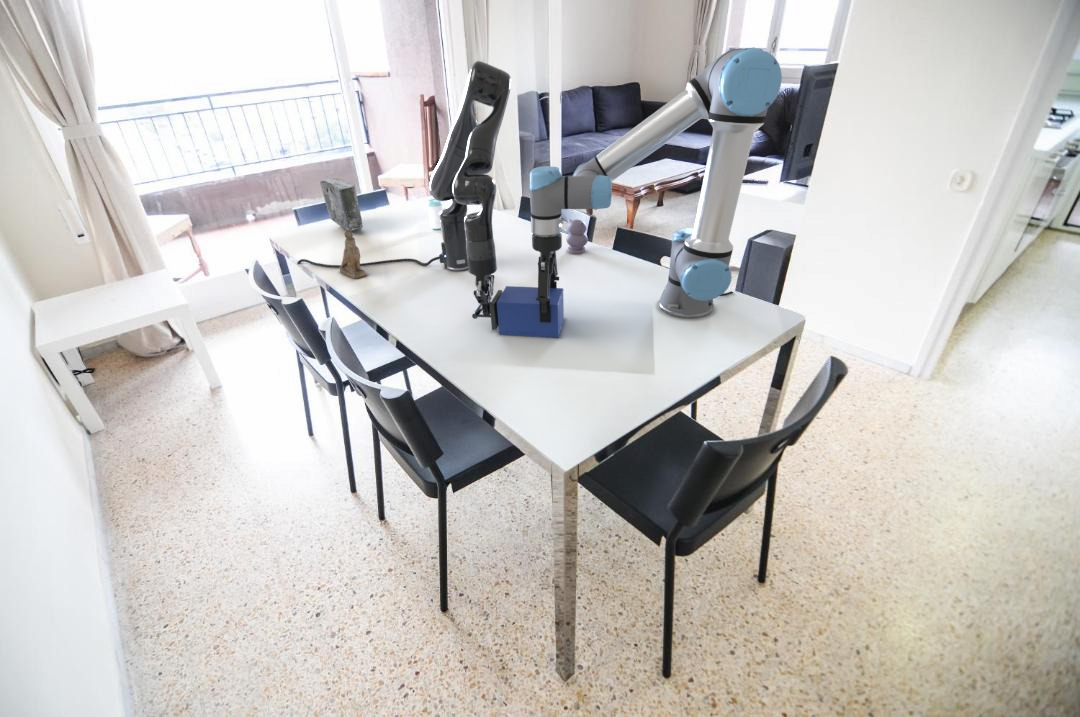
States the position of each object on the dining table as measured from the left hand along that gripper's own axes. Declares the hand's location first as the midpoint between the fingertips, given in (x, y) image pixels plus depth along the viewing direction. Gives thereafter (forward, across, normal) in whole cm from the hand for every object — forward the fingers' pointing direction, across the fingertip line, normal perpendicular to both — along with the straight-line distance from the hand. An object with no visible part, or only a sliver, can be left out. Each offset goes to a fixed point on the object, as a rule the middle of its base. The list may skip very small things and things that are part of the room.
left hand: (487, 313), depth 139 cm
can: (+3, +89, +47) cm, 101 cm away
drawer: (+3, 0, -7) cm, 8 cm away
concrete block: (+3, +86, +89) cm, 124 cm away
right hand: (-1, 0, -18) cm, 18 cm away
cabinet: (+4, 0, -13) cm, 13 cm away
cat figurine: (+4, +63, -18) cm, 66 cm away
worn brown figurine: (+3, +33, +59) cm, 68 cm away
